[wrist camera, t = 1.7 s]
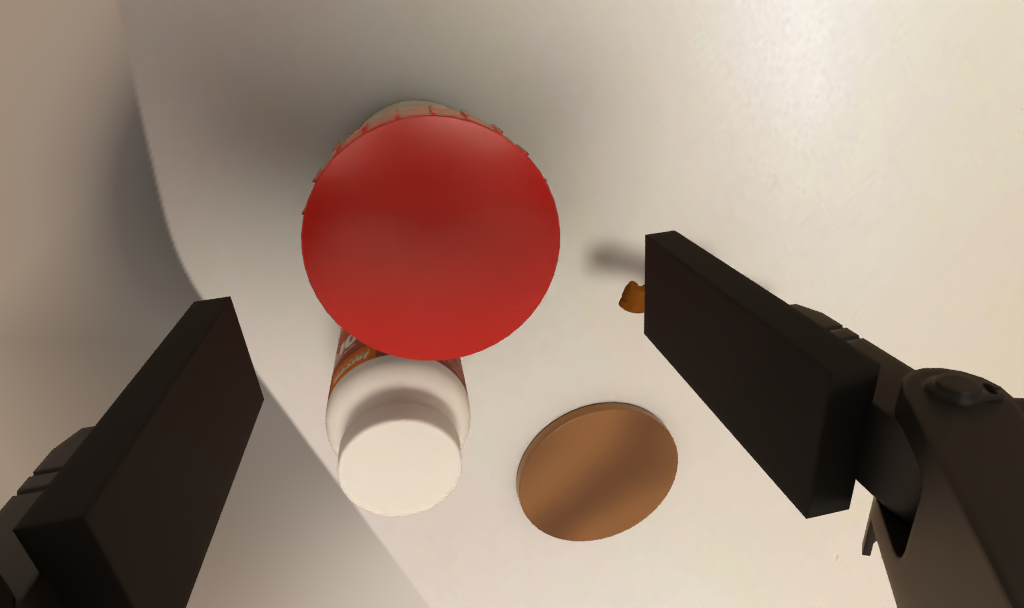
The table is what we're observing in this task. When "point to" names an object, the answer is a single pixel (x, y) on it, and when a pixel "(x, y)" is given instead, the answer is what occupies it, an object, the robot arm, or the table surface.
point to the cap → (430, 235)
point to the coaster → (596, 472)
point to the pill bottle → (396, 427)
